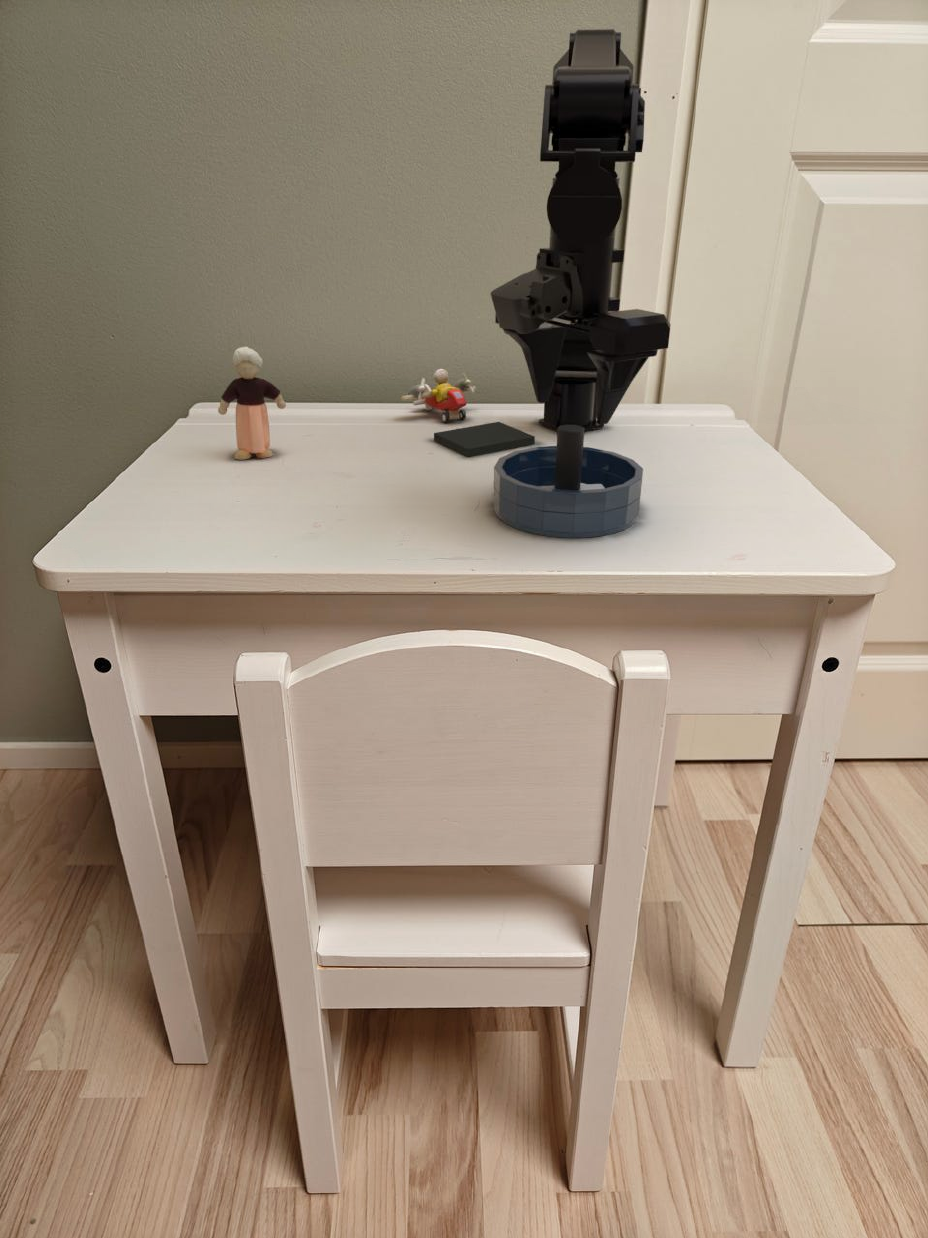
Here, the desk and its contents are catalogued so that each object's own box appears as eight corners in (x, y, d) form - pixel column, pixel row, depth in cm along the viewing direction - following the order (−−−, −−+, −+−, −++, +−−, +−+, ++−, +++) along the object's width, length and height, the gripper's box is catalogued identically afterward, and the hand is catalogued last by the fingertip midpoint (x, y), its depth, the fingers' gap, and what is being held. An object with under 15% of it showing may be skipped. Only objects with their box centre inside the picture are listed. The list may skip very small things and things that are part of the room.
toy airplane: (464, 425, 115) (464, 377, 112) (399, 421, 117) (397, 373, 114) (478, 408, 123) (478, 362, 120) (417, 404, 125) (416, 359, 122)
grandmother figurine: (230, 464, 100) (216, 352, 94) (222, 455, 103) (208, 346, 97) (294, 455, 104) (284, 346, 98) (284, 446, 107) (274, 340, 101)
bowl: (576, 477, 97) (578, 438, 95) (669, 518, 86) (674, 475, 84) (467, 501, 90) (467, 460, 88) (553, 549, 79) (555, 503, 77)
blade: (580, 491, 91) (585, 416, 87) (610, 505, 88) (617, 427, 84) (521, 505, 88) (524, 428, 84) (550, 520, 84) (554, 440, 80)
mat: (498, 428, 114) (498, 421, 113) (534, 443, 108) (535, 436, 107) (433, 440, 109) (433, 432, 109) (467, 457, 103) (467, 448, 103)
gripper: (448, 232, 79) (449, 402, 86) (578, 250, 65) (566, 451, 72) (545, 228, 84) (538, 388, 92) (684, 243, 70) (663, 431, 78)
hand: (571, 412), depth 83 cm, fingers open, 9 cm apart
